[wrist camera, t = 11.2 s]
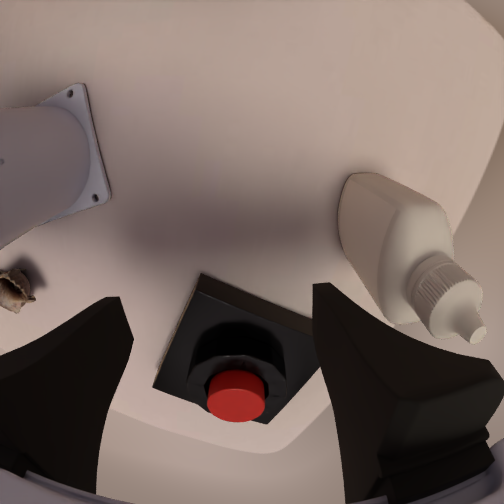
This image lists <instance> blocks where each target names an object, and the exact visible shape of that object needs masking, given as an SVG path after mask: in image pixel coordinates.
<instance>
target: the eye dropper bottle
mask: <svg viewBox="0 0 504 504" xmlns="http://www.w3.org/2000/svg"><path fill="white" fill-rule="evenodd" d="M338 230H339V236H340V241H341V244H342V248H343V250H344V253H345V255H346V257H347V259H348V260H349V262H350V264H351V265H352V267H353V268H354V270H355V271H356V273H357V274H358V276H359V277H360V279H361V281H362V282H363V284H364V285H365V287H366V288H367V290H368V292H369V293H370V295H371V296H372V298H373V300H374V301H375V303H376V304H377V306H378V307H379V309H380V310H381V312H382V313H383V315H384V316H385V317H386V319H387V320H388V321H390V322H391V323H393V324H398V325H402V324H411V323H416V322H419V321H422V323H423V324H424V325H425V327H426V328H427V330H428V331H429V332H430V334H431V335H432V336H434V337H436V338H438V339H449V338H452V337H455V336H457V335H460V336H461V337H463V338H464V339H465V340H466V341H468V342H469V343H470V344H472V345H475V344H477V343H478V342H480V341H481V340H482V339H483V338H484V336H485V334H486V330H487V329H486V327H485V325H484V323H483V321H482V319H481V318H480V316H479V314H478V312H479V310H480V308H481V304H482V296H483V293H482V288H481V286H480V284H479V283H478V282H477V281H476V280H475V279H474V278H473V277H472V276H470V275H469V274H468V273H467V272H466V271H465V270H463V269H462V268H461V267H460V266H459V265H457V264H456V263H455V262H454V245H453V237H452V232H451V228H450V224H449V220H448V218H447V215H446V213H445V211H444V210H443V208H442V207H441V206H440V205H439V204H438V203H437V202H435V201H433V200H431V199H430V198H428V197H426V196H424V195H422V194H420V193H418V192H416V191H414V190H412V189H410V188H408V187H406V186H404V185H402V184H400V183H398V182H396V181H394V180H391V179H389V178H387V177H385V176H383V175H380V174H377V173H357V174H353V175H351V176H350V177H349V178H348V179H347V181H346V183H345V186H344V188H343V191H342V194H341V198H340V203H339V209H338Z"/></svg>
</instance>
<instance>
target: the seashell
mask: <svg viewBox="0 0 504 504" xmlns="http://www.w3.org/2000/svg"><path fill="white" fill-rule="evenodd" d="M22 270H26V269H12V270H10V271H8V272H3V271H0V306H2V307H3V308H5V309H7V310H9V311H13V312H14V313H16V314H17V313H19V312H20V310H21V307H22V306H24V305H25V303H31V302H34V301H36V298H35V296H33V295H32V296H30V284H29V281H28V280H27V278H26V276H25V275H24V274H22V273H21V272H20V271H22Z"/></svg>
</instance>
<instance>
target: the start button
mask: <svg viewBox="0 0 504 504" xmlns="http://www.w3.org/2000/svg"><path fill="white" fill-rule="evenodd" d="M207 406H208V409H209V411H210V412H211V413H212V414H213V415H214V416H216V417H218V418H220V419H222V420H225V421H229V422H246V421H250V420H253V419H255V418H257V417H258V416H260V415H261V414H262V412H263V411H264V408H265V395H264V384H263V382H262V380H261V379H260V378H259V377H258V376H257V375H255V374H253V373H251V372H249V371H245V370H238V369H232V370H226V371H222V372H220V373H218V374H217V375H215V376H214V377H213V378H212V380H211V381H210V385H209V392H208V399H207Z"/></svg>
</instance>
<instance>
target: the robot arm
mask: <svg viewBox="0 0 504 504" xmlns="http://www.w3.org/2000/svg"><path fill="white" fill-rule="evenodd" d="M72 90H73V96H72V97H70V93H71V91H72ZM95 194H97V195H98V196H99V201H98V200H96V199H95ZM110 199H111V191H110V188H109V185H108V181H107V178H106V174H105V170H104V167H103V163H102V159H101V155H100V152H99V148H98V144H97V139H96V135H95V131H94V127H93V122H92V118H91V113H90V108H89V103H88V98H87V93H86V88H85V85H84V84H81V83H76V84H74V85H72V86H70V87H68V88H66V89H64V90H62V91H60V92H59V93H57V94H55V95H53V96H51V97H50V98H48V99H46V100H44V101H43V102H41V103H39V104H38V105H36V106H34V107H13V108H0V250H1V249H2V248H4V247H5V246H7V245H8V244H10V243H11V242H13V241H14V240H16V239H17V238H19V237H20V236H22V235H23V234H25V233H27V232H28V231H30V230H31V229H33V228H35V227H37V226H40V225H42V224H45V223H48V222H50V221H53V220H56V219H59V218H62V217H65V216H68V215H70V214H73V213H76V212H79V211H82V210H85V209H88V208H92V207H95V206H98V205H101V204H104V203H106V202H108V201H109V200H110ZM312 333H313V338H314V344H315V350H316V354H317V358H318V361H319V364H320V367H321V370H322V374H323V377H324V380H325V383H326V386H327V389H328V393H329V396H330V399H331V403H332V406H333V411H334V416H335V422H336V428H337V434H338V440H339V447H340V454H341V462H342V471H343V479H344V491H345V503H346V504H504V438H503V439H501V440H500V441H498V442H497V443H495V444H494V445H493V446H492V447H491V448H489V447H488V445H487V443H486V440H487V439H488V438H489V432H488V431H487V429H486V427H485V426H486V424H487V423H488V421H489V420H490V418H491V417H492V416H493V414H494V413H495V411H496V409H497V408H498V406H499V405H500V403H501V401H502V399H503V396H504V380H503V379H502V378H501V376H500V375H499V373H498V372H497V370H496V369H495V368H494V367H493V365H492V364H491V362H490V361H489V360H486V359H480V358H475V357H469V356H465V355H460V354H456V353H453V352H449V351H446V350H443V349H439V348H436V347H433V346H431V345H428V344H426V343H423V342H421V341H418V340H416V339H414V338H411V337H409V336H407V335H405V334H403V333H401V332H399V331H397V330H395V329H394V328H392V327H390V326H388V325H386V324H385V323H383V322H381V321H380V320H378V319H377V318H375V317H374V316H372V315H371V314H369V313H368V312H367V311H365V310H364V309H362V308H361V307H360V306H358V305H357V304H356V303H354V302H353V301H352V300H351V299H349V298H348V297H347V296H346V295H345V294H343V293H342V292H341V291H340V290H338V289H337V288H336V287H335V286H334V285H332V284H331V283H330V282H328V283H318V284H313V307H312ZM133 341H134V338H133V335H132V332H131V329H130V327H129V324H128V321H127V318H126V315H125V312H124V309H123V306H122V303H121V300H120V297H105V298H103V299H101V300H99V301H97V302H96V303H94V304H92V305H91V306H89V307H88V308H86V309H84V310H83V311H81V312H80V313H78V314H77V315H75V316H74V317H72V318H71V319H69V320H68V321H66V322H65V323H63V324H61V325H60V326H58V327H57V328H55V329H53V330H52V331H50V332H49V333H47V334H45V335H44V336H42V337H40V338H38V339H36V340H34V341H33V342H31V343H29V344H27V345H25V346H22V347H20V348H18V349H15V350H13V351H10V352H8V353H6V354H3V355H1V356H0V504H133V503H128V502H124V501H119V500H115V499H110V498H106V497H103V496H99V495H96V479H97V466H98V457H99V450H100V443H101V439H102V433H103V429H104V425H105V420H106V417H107V413H108V409H109V407H110V404H111V401H112V399H113V396H114V394H115V391H116V389H117V387H118V384H119V382H120V379H121V377H122V375H123V372H124V370H125V367H126V365H127V363H128V360H129V356H130V353H131V349H132V345H133Z"/></svg>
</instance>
